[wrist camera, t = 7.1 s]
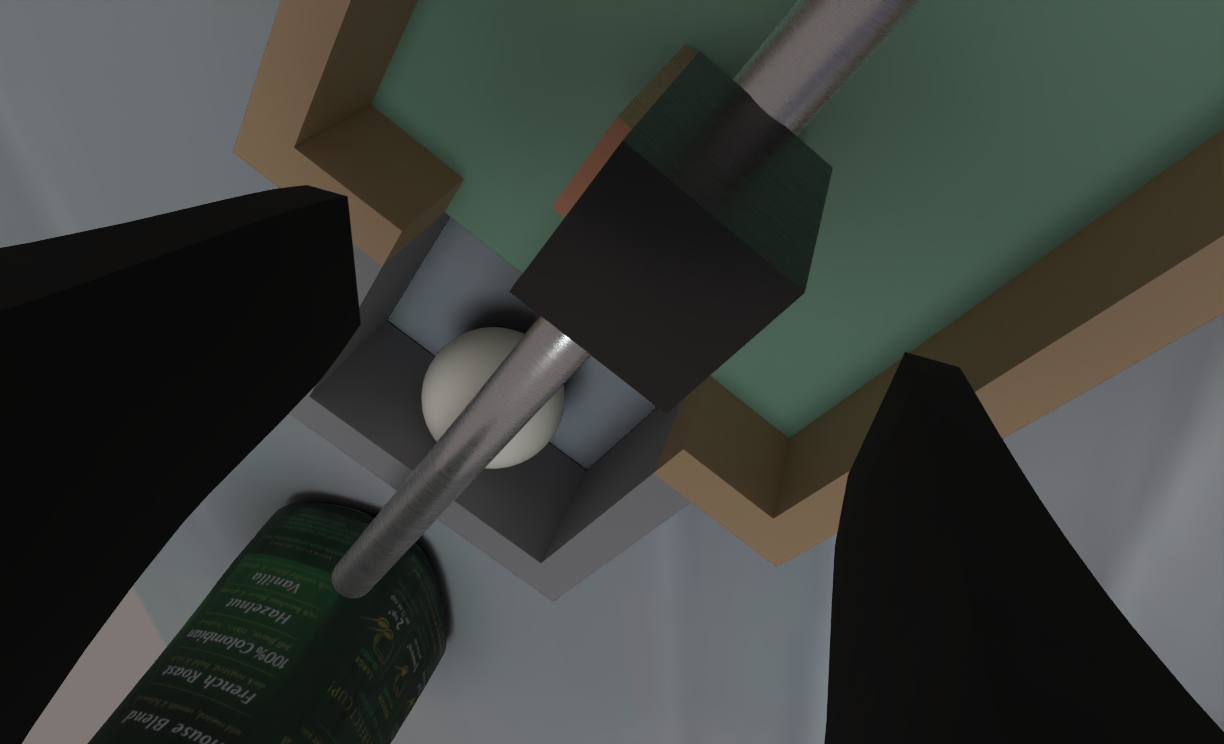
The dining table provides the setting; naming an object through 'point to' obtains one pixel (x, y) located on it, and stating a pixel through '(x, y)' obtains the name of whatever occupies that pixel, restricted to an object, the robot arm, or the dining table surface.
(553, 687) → the dining table surface
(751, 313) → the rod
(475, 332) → the ball
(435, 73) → the pitch
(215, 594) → the coffee jar
